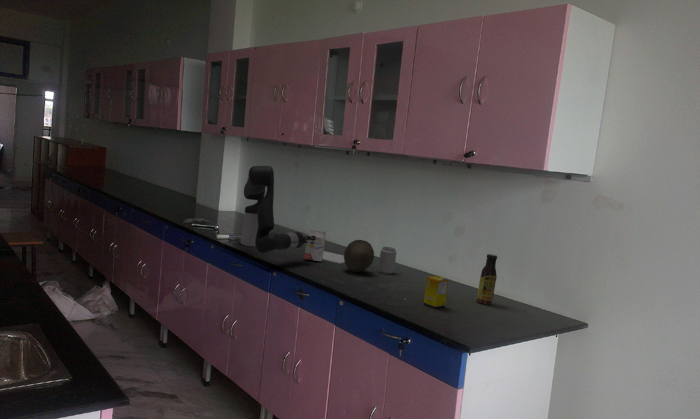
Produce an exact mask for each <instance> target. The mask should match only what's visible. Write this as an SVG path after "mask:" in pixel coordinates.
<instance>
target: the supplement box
mask: <svg viewBox="0 0 700 419" xmlns="http://www.w3.org/2000/svg"><path fill="white" fill-rule="evenodd" d="M425 281H426V282H425V290H424V299H423V306H426V305H427V307H429V306H430V308H432V309H434V308H436V309H442V308H445V307H446V300H447V291H448V285H449V278H446V277H442V276H439V275H433V276H431V275H430V276H426V280H425Z"/></svg>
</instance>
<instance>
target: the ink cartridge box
mask: <svg viewBox="0 0 700 419" xmlns="http://www.w3.org/2000/svg"><path fill="white" fill-rule="evenodd" d="M326 233H327V232H326V231H324V230H318V229H317V230H316V229H309V235H308V236H311V235H313V236H316V238H315V240H314V244H311V243H310V242H309V243H306V244H305V249H304V254H305V255H303V259H304V260H310V261H316V262H322V261H323V260H322V259H323V252H324V251H325V243H326V235H327V234H326Z"/></svg>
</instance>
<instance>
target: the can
mask: <svg viewBox="0 0 700 419" xmlns="http://www.w3.org/2000/svg"><path fill="white" fill-rule="evenodd" d="M379 254H380V255H379V263H378V268H377V269H378V271H379V273H380V274H385V275H392V274H394V273H395V265H396V259H397V258H396V257H397V251H396V248H395V247H390V246H382V247H381V249H380V253H379Z"/></svg>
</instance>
